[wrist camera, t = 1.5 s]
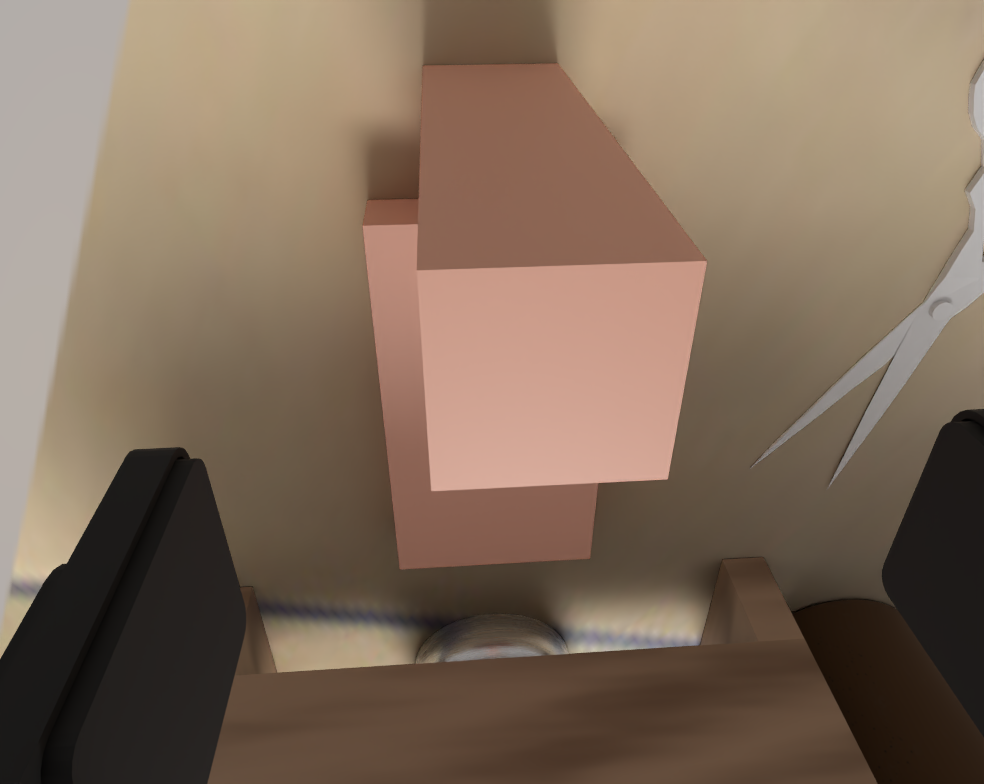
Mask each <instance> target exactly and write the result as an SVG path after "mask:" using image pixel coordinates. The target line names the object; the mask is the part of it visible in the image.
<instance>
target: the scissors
mask: <svg viewBox="0 0 984 784" xmlns="http://www.w3.org/2000/svg"><path fill="white" fill-rule="evenodd" d="M968 114H969V117H970V121H971V124H972V127H973V129H974V130H975V131H976V133H977V134H978V135H979V137H980V138H981V167H980V169H979V170H978V172H977V173H976V174H975V176H974V177H973V179H972V180H971V182H970V183H969V184H968V186H967V187H966V189H965V193H966V196H967V199H968V202H969V205H970V213H969V225H968V229H967V231H966V232H965V234H964V235H963V237H962V239H961V240H960V242H959V243H958V245H957V246H956V248H955V249H954V251H953V253H952V254H951V256H950V258H949V259H948V261H947V263H946V264H945V266H944V268H943V269H942V271H941V273H940V274H939V276H938V278H937V279H936V281H935V283H934V284H933V286H932V288H931V289H930V291H929V293H928V294H927V296H926V298H925V299H924V301H923V303H922V304H920V305H919V306H918V307H917V308H916V309H915V310H914V311H913V312H912V313H910V314H909V315H908V316H907V317H906V318H905V319H904V320H903V321H902V322H901V323H899V324H898V325H897V326H896V327H895V328H894V329H893V330H892V331H891V332H889V333H888V334H887V335H886V336H885V337H884V338H883V339H882V340H881V341H880V342H878V343H877V344H876V345H875V346H874V347H873V348H872V349H871V350H870V351H869V352H867V353H866V354H865V355H864V356H863V357H862V358H861V359H860V360H859V361H858V362H857V363H856V364H854V365H853V366H852V367H851V368H850V369H849V370H848V371H847V372H846V373H845V374H844V375H843V376H842V377H841V378H840V379H839V380H838V381H837V382H836V383H835V384H833V385H832V386H831V387H830V388H829V389H828V390H827V391H826V392H825V393H824V394H823V395H822V396H821V397H820V398H819V399H818V400H817V401H816V402H815V403H814V404H813V405H812V406H811V407H810V408H809V409H808V410H807V411H806V412H805V413H804V414H803V415H802V416H801V417H800V418H799V419H798V420H797V421H796V422H795V423H794V424H793V425H792V426H791V427H789V428H788V429H787V430H786V431H785V432H784V433H783V434H782V435H781V436H780V437H779V438H778V439H777V440H776V441H775V442H774V443H773V444H772V445H771V446H770V447H769V448H768V449H767V450H766V451H765V452H764V453H763V455H762V456H761V457H760V458H759V459H758V460H757V461H756V462H755V464H754V465H756V464H757V463H758V462H760V461H761V460H762V459H763V458H765V457H766V456H767V455H769V454H770V453H771V452H773V451H774V450H775V449H776V448H778V447H779V446H780V445H782V444H783V443H784V442H786V441H787V440H788V439H789V438H791V437H792V436H793V435H795V434H796V433H797V432H799V431H800V430H801V429H802V428H804V427H805V426H806V425H808V424H809V423H810V422H811V421H813V420H814V419H815V418H817V417H818V416H819V415H821V414H822V413H823V412H824V411H826V410H827V409H828V408H829V407H830V406H832V405H833V404H834V403H835V402H837V401H838V400H839V399H840V398H842V397H843V396H844V395H845V394H847V393H848V392H849V391H850V390H852V389H853V388H854V387H856V386H857V385H858V384H860V383H861V382H862V381H864V380H865V379H867V378H868V377H869V376H871V375H872V374H873V373H875V372H876V371H877V370H879V369H880V368H881V367H883V366H884V365H885V364H886V363H887V362H888V361H889V360H890V359H891V358H892V357H894V356H895V357H894V358H893V360H892V362H891V364H890V366H889V368H888V370H887V372H886V374H885V376H884V378H883V380H882V381H881V383H880V385H879V387H878V389H877V391H876V393H875V395H874V397H873V399H872V401H871V403H870V404H869V406H868V408H867V410H866V412H865V414H864V416H863V418H862V420H861V422H860V424H859V426H858V428H857V430H856V432H855V434H854V436H853V438H852V440H851V442H850V444H849V446H848V448H847V450H846V452H845V454H844V456H843V458H842V460H841V462H840V464H839V466H838V468H837V470H836V472H835V474H834V476H833V478H832V480H831V482H830V484H829V486H830V485H831V484H832V482H833V481H834V480H835V478H836V477H837V476H838V474H839V473H840V472H841V470H842V469H843V468H844V466H845V465H846V464H847V462H848V461H849V460H850V458H851V457H852V456H853V454H854V453H855V451H856V450H857V449H858V447H859V446H860V445H861V443H862V442H863V441H864V439H865V438H866V437H867V435H868V434H869V433H870V431H871V430H872V429H873V427H874V426H875V425H876V423H877V422H878V421H879V419H880V418H881V416H882V415H883V414H884V412H885V411H886V410H887V408H888V407H889V405H890V404H891V403H892V401H893V400H894V398H895V397H896V396H897V394H898V393H899V392H900V390H901V389H902V387H903V386H904V385H905V383H906V382H907V380H908V379H909V377H910V376H911V374H912V373H913V372H914V370H915V369H916V367H917V366H918V364H919V363H920V361H921V360H922V358H923V357H924V356H925V354H926V353H927V351H928V350H929V348H930V347H931V345H932V344H933V342H934V341H935V340H936V338H937V337H938V335H939V334H940V332H941V331H942V329H943V328H944V327H945V325H946V324H947V323H948V321H949V320H950V318H952V317H953V316H955V315H956V314H958V313H959V312H960V311H962V310H963V309H965V308H966V307H968V306H969V305H970V304H971V303H972V302H973V301H975V300H976V299H977V298H978V297H979V296H980V295H982V294H983V293H984V256H983V245H984V60H983V61H982V63H981V65H980V67H979V68H978V70H977V72H976V73H975V75H974V77H973V79H972V80H971V82H970V87H969V97H968ZM754 465H753V466H754ZM753 466H752V467H753ZM752 467H751V468H752ZM829 486H828V488H829ZM828 488H827V489H828Z"/></svg>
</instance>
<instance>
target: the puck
mask: <svg viewBox="0 0 984 784" xmlns="http://www.w3.org/2000/svg"><path fill="white" fill-rule="evenodd" d="M559 654H568V650H567V646H566V644H565V642H564V640H563V639H562V637H561V636H560V635H559V634H558V633H557V632H556V631H555V630H554V629H553V628H551V627H550V626H548V625H547V624H545V623H543V622H541V621H538V620H536V619H533V618H529V617H526V616H521V615H515V614H504V613H502V614H484V615H478V616H472V617H468V618H465V619H461V620H459V621H456V622H453V623H451V624H449V625H447V626H445V627H443V628H442V629H440V630H438V631H437V632H435V633H434V634H433V635H432V636H430V637H429V638H428V639H427V640H426V641H425V643H424V644H423V645H422V647H421V648H420V650H419V652H418V654H417V657H416V662H415V664H420V663H436V662H451V661H467V660H482V659H497V658H513V657H528V656H544V655H559Z"/></svg>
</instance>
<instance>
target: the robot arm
mask: <svg viewBox="0 0 984 784" xmlns="http://www.w3.org/2000/svg"><path fill="white" fill-rule="evenodd" d="M882 580H883V585H884V588H885V591H886V593H887V594H888V596H889V598H890V599H891V601H892V602H893V604H894V605H895V607H896V608H897V610H898V611H899V613H900V614H901V616H902V617H903V618H904V620H905V621H906V623H907V624H908V626H909V627H910V629H911V630H912V632H913V633H914V635H915V636H916V638H917V639H918V641H919V642H920V644H921V645H922V647H923V648H924V650H925V651H926V653H927V654H928V656H929V657H930V659H931V660H932V661H933V663H934V664H935V666H936V667H937V669H938V670H939V672H940V673H941V675H942V676H943V678H944V679H945V681H946V682H947V684H948V685H949V687H950V688H951V690H952V691H953V693H954V694H955V696H956V697H957V699H958V700H959V701H960V703H961V704H962V706H963V707H964V709H965V710H966V712H967V713H968V715H969V716H970V718H971V719H972V721H973V722H974V724H975V725H976V727H977V728H978V730H979V731H980V733H981V734H982V736H983V737H984V409H976V410H965V411H961V412H959V413H958V414H957V415H955V416H954V417H953V419H952V421H951V422H950V423H947V424H945V425H944V426H943V427H942V429H941V430H940V432H939V434H938V437H937V439H936V442H935V444H934V446H933V449H932V451H931V453H930V456H929V458H928V461H927V463H926V465H925V468H924V470H923V472H922V475H921V477H920V480H919V482H918V484H917V487H916V489H915V491H914V494H913V496H912V499H911V501H910V503H909V506H908V508H907V510H906V513H905V515H904V518H903V520H902V522H901V525H900V527H899V529H898V532H897V534H896V537H895V539H894V541H893V544H892V546H891V548H890V551H889V553H888V556H887V558H886V560H885V563H884V565H883V569H882ZM245 631H246V608H245V603H244V600H243V596H242V593H241V589H240V586H239V582H238V579H237V575H236V572H235V568H234V565H233V561H232V558H231V554H230V551H229V547H228V544H227V540H226V537H225V533H224V530H223V526H222V523H221V519H220V516H219V512H218V509H217V505H216V502H215V498H214V495H213V491H212V488H211V484H210V481H209V477H208V474H207V470H206V467H205V464H204V462H203V461H202V460H201V459H199V458H198V459H190V457H189V455H188V453H187V452H186V450H185V449H184V448H181V447H177V448H156V449H135V450H133V451H130V452H129V454H128V455H127V456H126V457H125V459H124V461H123V463H122V465H121V466H120V468H119V470H118V472H117V474H116V476H115V477H114V479H113V481H112V483H111V485H110V486H109V488H108V490H107V492H106V494H105V495H104V497H103V499H102V501H101V503H100V505H99V506H98V508H97V510H96V512H95V514H94V515H93V517H92V519H91V521H90V523H89V524H88V526H87V528H86V530H85V532H84V534H83V535H82V537H81V539H80V541H79V543H78V544H77V546H76V548H75V550H74V552H73V553H72V555H71V557H70V559H69V561H68V562H67V564H62V565H60V566H59V567H57V568H56V569H54V570H53V571H52V572H51V574H50V575H49V576H48V578H47V579H46V580H45V582H44V583H43V585H42V587H41V589H40V590H39V592H38V594H37V596H36V597H35V599H34V601H33V603H32V604H31V606H30V608H29V610H28V611H27V613H26V615H25V617H24V618H23V620H22V622H21V624H20V626H19V627H18V629H17V631H16V633H15V634H14V636H13V638H12V640H11V641H10V643H9V645H8V647H7V648H6V650H5V652H4V654H3V655H2V657H1V659H0V784H207V783H208V779H209V775H210V771H211V767H212V763H213V759H214V755H215V751H216V747H217V743H218V739H219V735H220V731H221V727H222V724H223V720H224V716H225V712H226V708H227V704H228V700H229V696H230V692H231V688H232V684H233V680H234V676H235V672H236V668H237V664H238V660H239V656H240V652H241V648H242V644H243V640H244V636H245Z"/></svg>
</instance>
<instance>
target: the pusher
mask: <svg viewBox="0 0 984 784" xmlns="http://www.w3.org/2000/svg"><path fill="white" fill-rule="evenodd" d="M363 236H364V245H365V254H366V263H367V272H368V282H369V291H370V300H371V309H372V319H373V328H374V337H375V346H376V355H377V365H378V374H379V383H380V392H381V401H382V411H383V420H384V429H385V438H386V448H387V457H388V466H389V475H390V484H391V494H392V503H393V512H394V521H395V530H396V540H397V549H398V558H399V567H400V569H417V568H435V567H452V566H470V565H487V564H505V563H523V562H540V561H558V560H575V559H590V554H591V545H592V536H593V527H594V518H595V508H596V499H597V490H598V483H605V482H625V481H645V480H664V479H668V475H669V470H670V464H671V459H672V453H673V448H674V442H675V436H676V431H677V425H678V420H679V414H680V409H681V403H682V398H683V392H684V387H685V381H686V376H687V370H688V365H689V359H690V353H691V348H692V342H693V337H694V331H695V326H696V320H697V315H698V309H699V304H700V298H701V293H702V287H703V282H704V276H705V270H706V265H707V260H706V259H705V257H704V256H703V255H702V253H701V252H700V251H699V249H698V248H697V247H696V245H695V244H694V243H693V241H692V240H691V239H690V238H689V236H688V235H687V234H686V232H685V231H684V230H683V228H682V227H681V226H680V224H679V223H678V222H677V220H676V219H675V218H674V216H673V215H672V214H671V212H670V211H669V210H668V208H667V207H666V206H665V204H664V203H663V202H662V200H661V199H660V198H659V196H658V195H657V194H656V193H655V191H654V190H653V189H652V187H651V186H650V185H649V183H648V182H647V181H646V179H645V178H644V177H643V175H642V174H641V173H640V171H639V170H638V169H637V167H636V166H635V165H634V163H633V162H632V161H631V159H630V158H629V157H628V155H627V154H626V153H625V152H624V150H623V149H622V148H621V146H620V145H619V144H618V142H617V141H616V140H615V138H614V137H613V136H612V134H611V133H610V132H609V130H608V129H607V128H606V126H605V125H604V124H603V122H602V121H601V120H600V118H599V117H598V116H597V114H596V113H595V112H594V110H593V109H592V108H591V107H590V105H589V104H588V103H587V101H586V100H585V99H584V97H583V96H582V95H581V93H580V92H579V91H578V89H577V88H576V87H575V85H574V84H573V83H572V81H571V80H570V79H569V77H568V76H567V75H566V73H565V72H564V71H563V69H562V68H561V67H560V65H559V64H558V63H546V64H484V65H423V69H422V103H421V137H420V171H419V199H388V200H367V205H366V210H365V215H364V220H363Z"/></svg>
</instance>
